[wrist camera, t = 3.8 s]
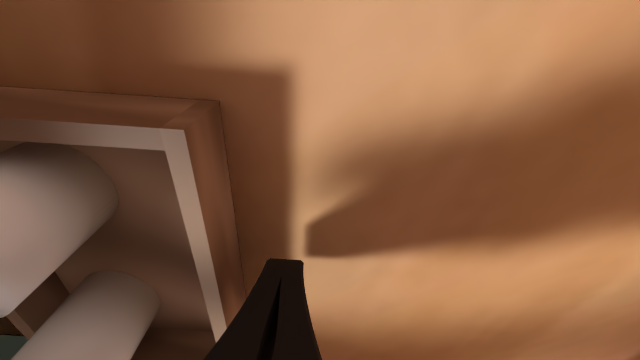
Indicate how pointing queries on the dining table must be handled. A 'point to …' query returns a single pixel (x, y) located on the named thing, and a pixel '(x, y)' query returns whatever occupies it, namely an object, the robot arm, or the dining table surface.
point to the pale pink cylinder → (46, 213)
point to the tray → (144, 209)
